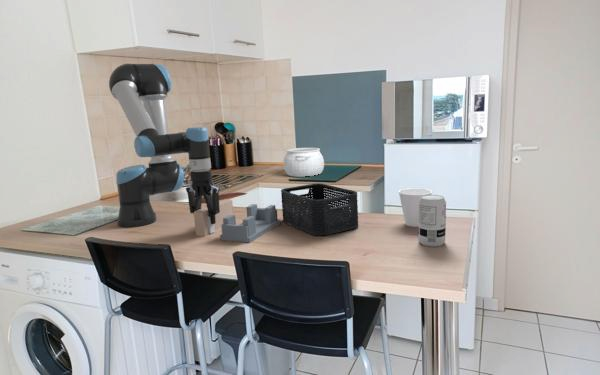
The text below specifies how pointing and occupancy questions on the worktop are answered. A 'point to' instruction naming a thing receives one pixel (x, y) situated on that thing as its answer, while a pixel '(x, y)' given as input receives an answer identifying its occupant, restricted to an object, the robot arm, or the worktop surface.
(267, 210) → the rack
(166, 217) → the worktop surface
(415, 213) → the cup
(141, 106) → the robot arm
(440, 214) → the supplement can
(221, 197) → the wooden tablet
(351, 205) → the storage bin
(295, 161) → the pot
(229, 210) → the tan rectangular block
